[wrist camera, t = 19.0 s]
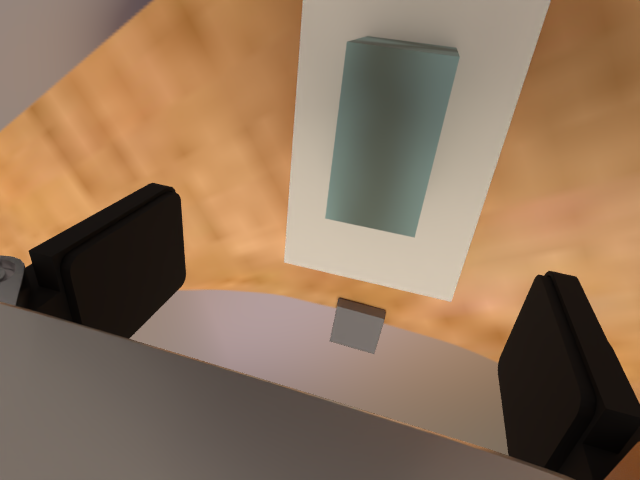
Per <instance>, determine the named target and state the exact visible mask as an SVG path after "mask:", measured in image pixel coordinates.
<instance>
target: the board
mask: <svg viewBox="0 0 640 480" xmlns="http://www.w3.org/2000/svg"><path fill="white" fill-rule="evenodd" d="M550 1H551V0H303V6H302V20H301V34H300V48H299V62H298V76H297V90H296V104H295V118H294V132H293V146H292V160H291V173H290V187H289V201H288V215H287V229H286V243H285V257H284V262H285V263H289V264H293V265H297V266H302V267H306V268H310V269H314V270H319V271H323V272H327V273H331V274H336V275H340V276H344V277H348V278H352V279H357V280H361V281H365V282H369V283H374V284H378V285H382V286H386V287H391V288H395V289H399V290H403V291H408V292H412V293H416V294H420V295H424V296H429V297H433V298H437V299H441V300H446V301H450V302H451V301H452V298H453V295H454V292H455V289H456V286H457V283H458V280H459V277H460V274H461V271H462V268H463V265H464V262H465V259H466V256H467V253H468V250H469V247H470V244H471V241H472V237H473V234H474V231H475V228H476V225H477V222H478V219H479V216H480V213H481V210H482V207H483V204H484V201H485V198H486V195H487V192H488V189H489V186H490V183H491V180H492V177H493V174H494V171H495V168H496V165H497V162H498V159H499V156H500V153H501V150H502V147H503V144H504V141H505V138H506V134H507V131H508V128H509V125H510V122H511V119H512V116H513V113H514V110H515V107H516V104H517V101H518V98H519V95H520V92H521V89H522V86H523V83H524V80H525V77H526V74H527V71H528V68H529V65H530V62H531V59H532V56H533V53H534V50H535V47H536V44H537V41H538V38H539V35H540V31H541V28H542V25H543V22H544V19H545V16H546V13H547V10H548V7H549V4H550ZM366 36H372V37H379V38H387V39H394V40H402V41H409V42H417V43H425V44H432V45H440V46H447V47H455V48H457V51H458V53H459V56H460V58H459V62H458V66H457V70H456V74H455V78H454V82H453V86H452V90H451V94H450V98H449V102H448V106H447V110H446V114H445V118H444V122H443V126H442V130H441V134H440V138H439V142H438V146H437V150H436V154H435V158H434V162H433V166H432V170H431V174H430V178H429V182H428V186H427V190H426V194H425V198H424V202H423V206H422V210H421V214H420V218H419V222H418V226H417V230H416V234H415V238H414V237H409V236H405V235H400V234H395V233H391V232H386V231H381V230H377V229H372V228H367V227H362V226H358V225H353V224H348V223H344V222H339V221H334V220H330V219H325V215H326V207H327V199H328V191H329V183H330V175H331V166H332V158H333V150H334V142H335V134H336V126H337V118H338V110H339V101H340V93H341V85H342V77H343V69H344V61H345V53H346V44H347V41H351V40H355V39H358V38H362V37H366Z"/></svg>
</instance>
